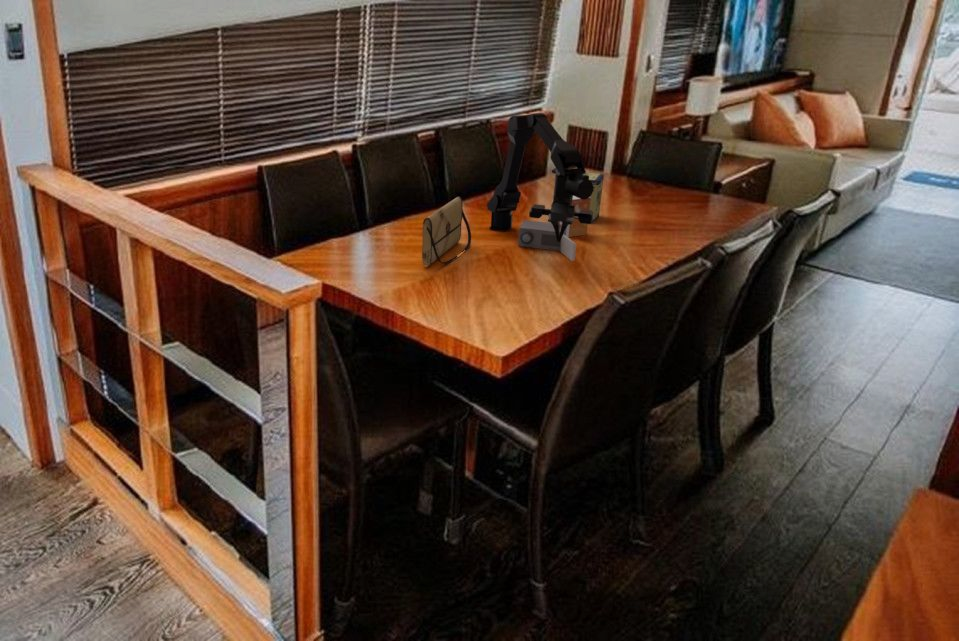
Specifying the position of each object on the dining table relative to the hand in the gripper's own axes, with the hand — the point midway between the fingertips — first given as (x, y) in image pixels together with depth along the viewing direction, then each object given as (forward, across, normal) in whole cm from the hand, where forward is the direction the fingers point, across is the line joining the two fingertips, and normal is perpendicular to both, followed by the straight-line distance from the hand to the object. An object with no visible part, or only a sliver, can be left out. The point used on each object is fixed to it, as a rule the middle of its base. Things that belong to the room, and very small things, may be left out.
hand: (558, 241), depth 240 cm
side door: (+5, +3, +4) cm, 7 cm away
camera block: (+6, -7, +12) cm, 15 cm away
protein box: (+6, 0, +48) cm, 49 cm away
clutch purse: (+6, -32, -9) cm, 34 cm away
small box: (+6, +1, +27) cm, 28 cm away
